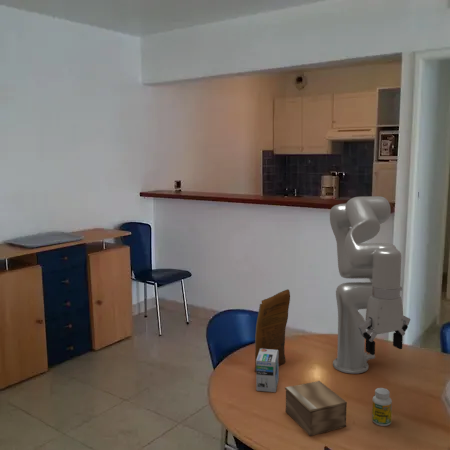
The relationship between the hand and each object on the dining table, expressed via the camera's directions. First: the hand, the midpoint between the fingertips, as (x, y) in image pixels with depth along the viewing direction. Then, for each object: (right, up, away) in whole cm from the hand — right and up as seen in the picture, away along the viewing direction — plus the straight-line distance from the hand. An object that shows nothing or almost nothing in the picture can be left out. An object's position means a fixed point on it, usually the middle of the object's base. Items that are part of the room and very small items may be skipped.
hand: (384, 350), depth 140 cm
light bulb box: (-31, -19, +27) cm, 45 cm away
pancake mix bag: (-28, -17, +41) cm, 53 cm away
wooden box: (-19, -22, +5) cm, 29 cm away
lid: (-19, -15, +4) cm, 24 cm away
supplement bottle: (0, -22, +4) cm, 22 cm away
